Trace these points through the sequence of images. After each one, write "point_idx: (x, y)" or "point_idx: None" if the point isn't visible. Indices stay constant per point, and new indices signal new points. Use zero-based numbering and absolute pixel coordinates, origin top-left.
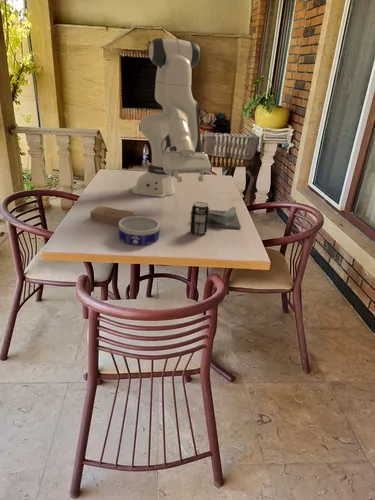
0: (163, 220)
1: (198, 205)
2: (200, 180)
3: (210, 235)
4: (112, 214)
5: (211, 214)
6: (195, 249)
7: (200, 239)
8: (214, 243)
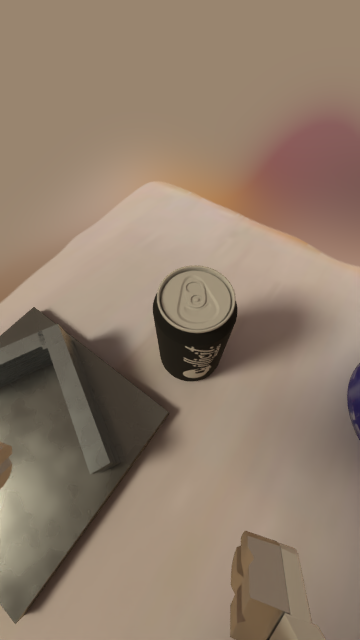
0: None
1: (210, 300)
2: (5, 449)
3: None
4: None
5: (81, 381)
6: (268, 269)
7: None
8: None
